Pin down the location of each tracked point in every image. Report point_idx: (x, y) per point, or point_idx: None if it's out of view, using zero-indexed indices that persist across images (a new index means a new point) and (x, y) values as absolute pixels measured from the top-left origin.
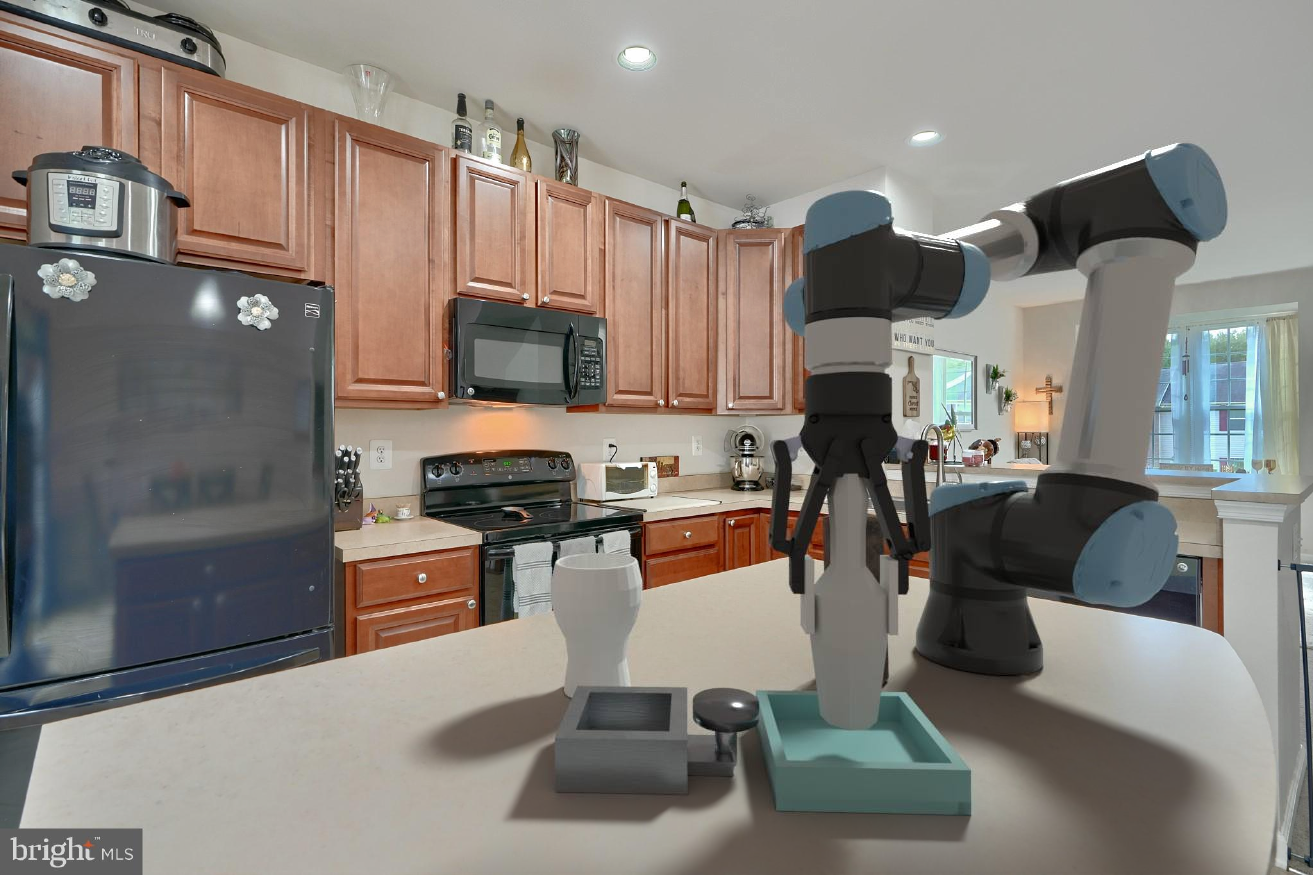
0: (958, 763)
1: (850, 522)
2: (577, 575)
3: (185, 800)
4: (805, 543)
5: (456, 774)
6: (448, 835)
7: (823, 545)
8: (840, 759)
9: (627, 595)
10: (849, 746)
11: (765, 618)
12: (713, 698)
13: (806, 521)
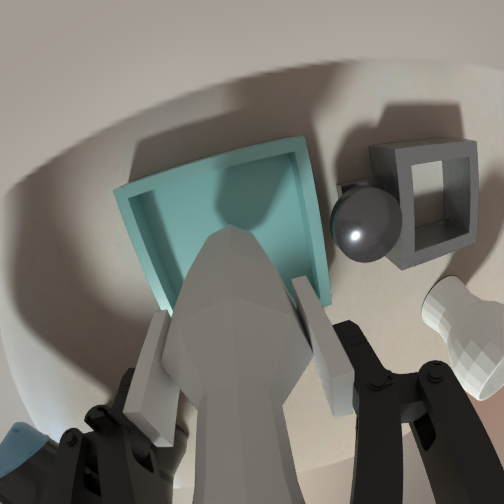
0: (122, 199)
1: (238, 497)
2: None
3: None
4: (370, 407)
5: (492, 153)
6: (473, 88)
7: None
8: (238, 225)
9: (480, 344)
10: None
11: (307, 449)
12: (383, 229)
13: (390, 462)
